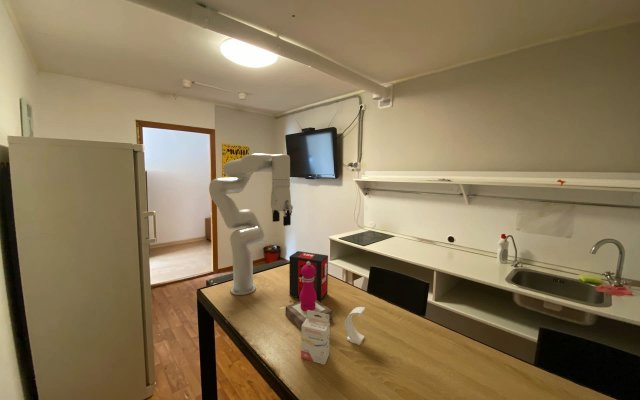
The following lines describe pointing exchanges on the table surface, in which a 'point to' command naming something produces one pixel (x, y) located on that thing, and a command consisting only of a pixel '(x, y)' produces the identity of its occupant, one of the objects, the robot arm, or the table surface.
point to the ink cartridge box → (315, 337)
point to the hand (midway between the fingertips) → (281, 223)
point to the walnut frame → (305, 312)
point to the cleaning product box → (320, 276)
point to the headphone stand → (350, 330)
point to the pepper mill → (308, 288)
